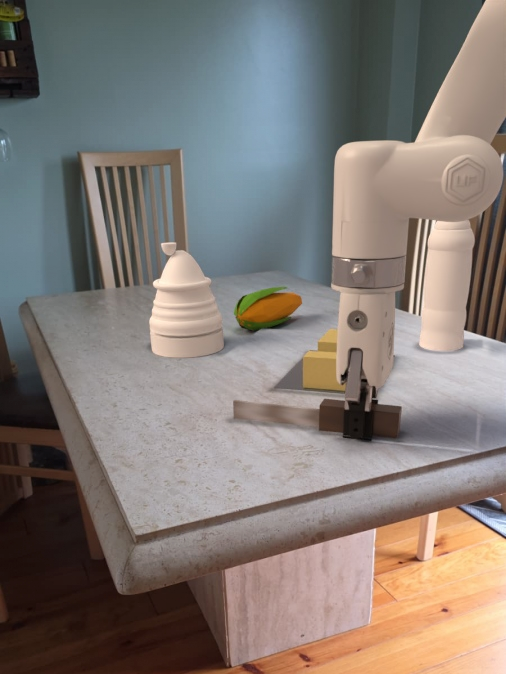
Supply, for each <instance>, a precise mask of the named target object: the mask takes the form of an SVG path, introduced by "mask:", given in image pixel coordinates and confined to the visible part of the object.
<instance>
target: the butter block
mask: <svg viewBox="0 0 506 674" xmlns="http://www.w3.org/2000/svg"><path fill="white" fill-rule="evenodd" d="M337 333H338V328H329V329H328V331H326V332H325V334H323V335H322V337H321V338H319V340H318V341H317V351H321V352H337Z"/></svg>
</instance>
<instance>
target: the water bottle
mask: <svg viewBox="0 0 506 674" xmlns="http://www.w3.org/2000/svg"><path fill="white" fill-rule="evenodd" d="M471 226H472V225H471V222H470V219H468V220H465V221H460V222H443V221H435V224H434V228H433V229H432V230H431V231H430V234H429V235H428V239H427V248H428V250H427V257H426V263H425V272H424V285H423V308H422V312H421V321H420V322H421V328H420V329H421V330H420V335H419V341H418V342H419V343H418V345H419V346H420V347H421V348H422V349H425V350H430V351H437V352H450V351H457V350H461V349H463V348H464V341H465V326H466V323H467V304H468V299H469V293H470V286H471V278H472V266H473V248H474V246H475V242H476V239H475V234H474V232H473V229H472V227H471Z"/></svg>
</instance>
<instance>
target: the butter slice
mask: <svg viewBox="0 0 506 674" xmlns="http://www.w3.org/2000/svg"><path fill="white" fill-rule="evenodd" d="M336 356H337V352H321V351H318V350H316V351H310V350H307V352H306V353H305V354H304V355H303V356H302V358H303V388H313V389H325V390H337V391H345V387H346V386H345V385H346V382H345V384H344V385H343V386H342V385H340V384H339V383H338V382H337V376H336Z"/></svg>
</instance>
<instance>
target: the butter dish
mask: <svg viewBox="0 0 506 674" xmlns="http://www.w3.org/2000/svg"><path fill="white" fill-rule="evenodd" d="M309 351H317V350H315V349H314V350H313V349H310V350H309ZM395 357H396V355H395V354H394V358H395ZM273 389H280V390H292V391H293V390H294V391H305V392H317V393H327V394H328V393H330V394H340V395H345V391H337V390H325V389H313V388H303V357H302V358H301V359H300V360H299V361H298V362H297V363H296V364H295V365H294V366H293V367H292V368H291V369H290V370H289V371H288V372H287V373H286V374H285V375H284V376H283V377H282V379H280V380H279V381H278V382H277V383H276V384H275V386H273Z"/></svg>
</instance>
